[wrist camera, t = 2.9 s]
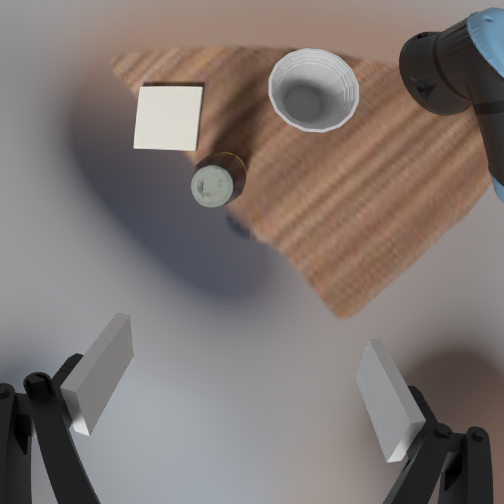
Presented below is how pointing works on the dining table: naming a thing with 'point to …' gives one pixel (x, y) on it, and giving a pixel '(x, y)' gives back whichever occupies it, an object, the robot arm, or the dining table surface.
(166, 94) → the cream pad
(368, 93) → the dining table surface
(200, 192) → the sauce bottle
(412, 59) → the robot arm
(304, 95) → the plastic cup
